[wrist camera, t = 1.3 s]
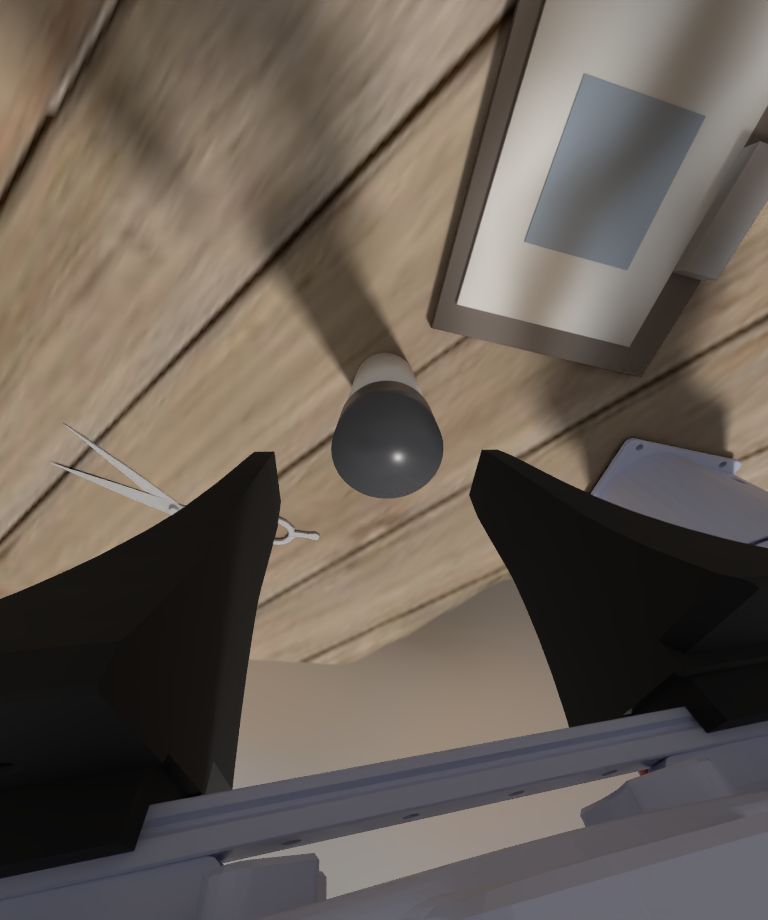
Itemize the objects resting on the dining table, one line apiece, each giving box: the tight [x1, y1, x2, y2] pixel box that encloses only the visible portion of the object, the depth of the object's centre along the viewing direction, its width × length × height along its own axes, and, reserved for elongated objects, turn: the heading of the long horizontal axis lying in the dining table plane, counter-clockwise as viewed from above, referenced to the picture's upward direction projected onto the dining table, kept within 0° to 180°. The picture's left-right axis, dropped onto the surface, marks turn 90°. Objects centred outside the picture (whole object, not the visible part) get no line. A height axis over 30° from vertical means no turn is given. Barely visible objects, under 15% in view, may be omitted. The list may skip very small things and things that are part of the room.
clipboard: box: [431, 0, 768, 377], centre depth 15 cm, size 14×16×2 cm
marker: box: [331, 353, 443, 498], centre depth 16 cm, size 4×4×10 cm
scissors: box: [49, 423, 319, 545], centre depth 25 cm, size 11×1×20 cm
